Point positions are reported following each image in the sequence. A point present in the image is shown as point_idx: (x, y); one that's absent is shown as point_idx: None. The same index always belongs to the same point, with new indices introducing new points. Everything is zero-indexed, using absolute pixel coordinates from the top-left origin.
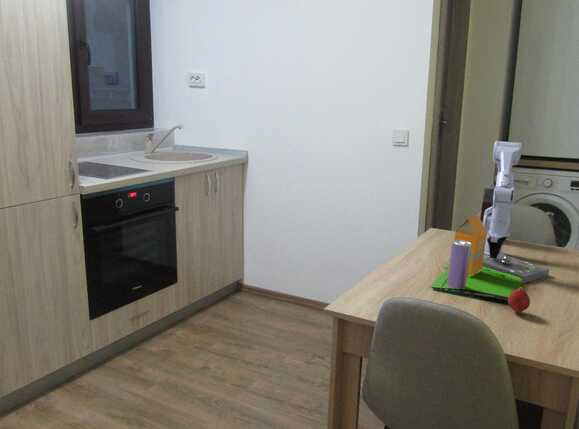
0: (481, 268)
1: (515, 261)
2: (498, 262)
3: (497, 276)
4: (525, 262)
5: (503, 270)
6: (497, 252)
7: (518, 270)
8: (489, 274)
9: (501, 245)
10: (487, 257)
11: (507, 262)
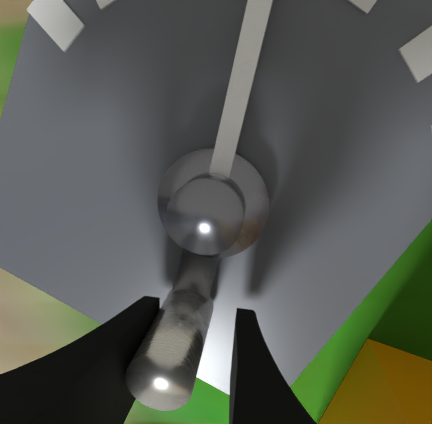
0: (380, 359)
1: (90, 125)
2: (223, 263)
3: (422, 235)
4: (60, 27)
5: (427, 214)
6: (269, 357)
7: (392, 75)
8: (399, 288)
9: (95, 366)
10: None
11: (261, 199)
